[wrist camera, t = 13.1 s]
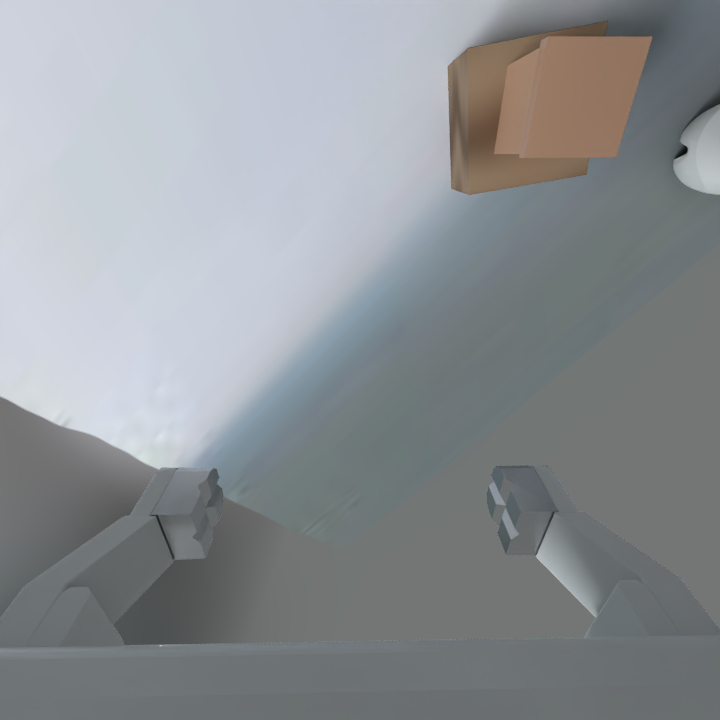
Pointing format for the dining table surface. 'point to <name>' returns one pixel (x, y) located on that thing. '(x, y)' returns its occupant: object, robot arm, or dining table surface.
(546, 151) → the brown cardboard box
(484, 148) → the walnut box
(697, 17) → the dining table surface
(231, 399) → the dining table surface
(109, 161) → the dining table surface
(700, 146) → the water bottle
